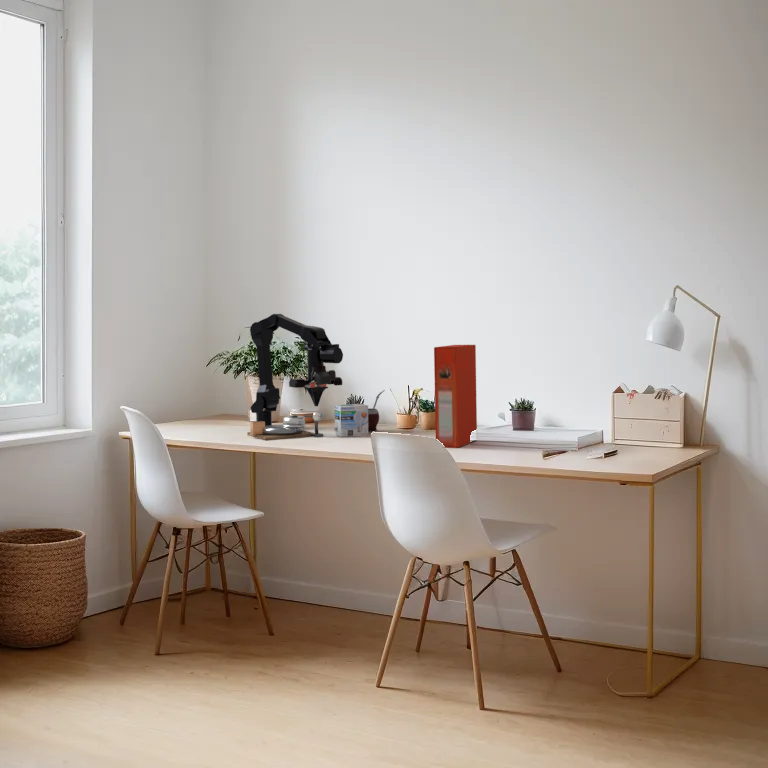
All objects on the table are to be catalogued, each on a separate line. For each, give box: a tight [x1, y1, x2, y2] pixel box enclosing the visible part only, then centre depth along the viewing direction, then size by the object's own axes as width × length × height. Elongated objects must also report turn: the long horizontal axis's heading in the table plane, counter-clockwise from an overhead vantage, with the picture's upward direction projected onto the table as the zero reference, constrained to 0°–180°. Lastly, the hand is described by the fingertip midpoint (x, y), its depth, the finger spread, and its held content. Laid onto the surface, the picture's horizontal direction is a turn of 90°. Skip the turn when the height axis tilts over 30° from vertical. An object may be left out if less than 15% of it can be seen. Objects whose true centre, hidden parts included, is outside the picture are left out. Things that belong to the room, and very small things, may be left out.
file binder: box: [433, 344, 478, 449], centre depth 323 cm, size 8×17×32 cm, turn 155°
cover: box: [281, 414, 307, 428], centre depth 352 cm, size 8×8×4 cm
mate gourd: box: [368, 389, 386, 433], centre depth 359 cm, size 8×8×15 cm
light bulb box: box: [334, 403, 369, 438], centre depth 348 cm, size 11×7×11 cm, turn 112°
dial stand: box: [303, 411, 324, 438], centre depth 347 cm, size 5×5×9 cm
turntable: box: [249, 421, 303, 435], centre depth 349 cm, size 15×18×4 cm
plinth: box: [247, 429, 314, 441], centre depth 350 cm, size 16×19×1 cm
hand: (316, 406), depth 356 cm, fingers closed
